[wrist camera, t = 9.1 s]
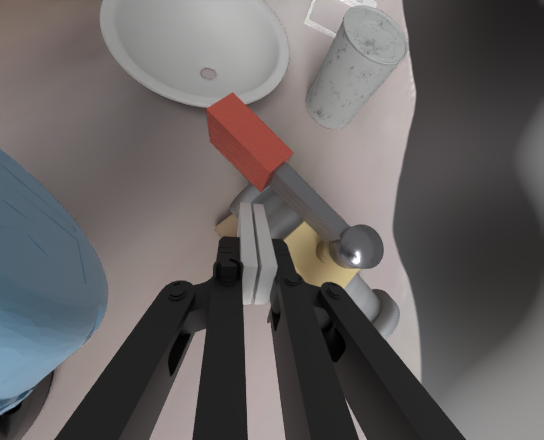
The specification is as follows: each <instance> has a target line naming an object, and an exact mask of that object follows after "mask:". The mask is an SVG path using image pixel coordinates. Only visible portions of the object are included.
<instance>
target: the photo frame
mask: <svg viewBox="0 0 544 440" xmlns="http://www.w3.org/2000/svg"><path fill="white" fill-rule="evenodd" d="M315 1H316V0H312V3H311V5H310V8H309V11H308V14H307V17H306V19H305V22H304V23H306V24H308V25H310V26H311V27H313V28H315V29H317V30H319V31H321V32H323V33H325V34H327V35H329V36H331V37H333V38H335V36H336V33H334V32H332V31H330V30H328V29H326V28H324V27H323V26H321V25H319V24H317V23H315V22H313V21H311V20H309V18H310V15H311V12H312V9H313V6H314V3H315ZM340 1H342V2H344V3H346V4H348V5H350V6H351V7H354V6H359V5H364V6H370V7H373V8H376V4H377V2H376V1H374V0H340Z"/></svg>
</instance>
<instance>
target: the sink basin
mask: <svg viewBox="0 0 544 440" xmlns="http://www.w3.org/2000/svg"><path fill="white" fill-rule="evenodd" d="M100 27H101V32H102V35H103V39H104V41H105V43H106V46H107V48H108V49H109V51H110V53H111V54H112V56H113V57H114V59H115V60H116V61H117V63H118V64H119V65H120V66H121V67H122V68H123V69H124V70H125V71H126V72H127V73H128V74H129V75H130V76H131V77H132V78H134V79H135V80H136V81H137V82H139V83H140V84H141V85H143V86H145V87H146V88H148V89H149V90H151V91H153V92H155V93H157V94H159V95H161V96H163V97H165V98H168V99H170V100H173V101H176V102H179V103H182V104H186V105H190V106H196V107H202V108H208V107H210V106H211V105H213V104H214V103H216V102H218V101H219V100H221V99H222V98H224V97H226V96H227V95H229V94H230V93H232V92H233V93H234V94H235V95H236V96H237V97H238V98H239V99H240V100H241V101H242V102H243V103H244V104H245V105H247V104H250V103H253V102H255V101H257V100H259V99H261V98H263V97H265V96H266V95H268V94H269V93H270V92H272V91H273V90H274V89H275V88H276V87H277V86H278V84H279V83H280V82H281V80H282V79H283V77H284V75H285V73H286V71H287V68H288V64H289V43H288V39H287V35H286V33H285V30H284V28H283V26H282V24H281V22H280V20H279V19H278V17H277V16H276V14H275V13H274V12H273V11H272V9H271V8H270V7H269V6H268V5H267V4H266V3H265V2H264V1H263V0H103V1H102V5H101V8H100ZM206 68H208V69H211V70H213V71H214V72H215V73H216V77H215V78H214V79H211V80H209V79H205V78H203V77H202V76H201V71H202V70H203V69H206Z"/></svg>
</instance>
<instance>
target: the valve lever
mask: <svg viewBox="0 0 544 440" xmlns="http://www.w3.org/2000/svg"><path fill="white" fill-rule="evenodd" d="M206 112H207V120H208V129H209V138H210V142H211V143H212V144H213V145H214V146H215V147H216V148H217V149H218V150H219V151H220V152H221V153H222V154H223V155H224V156H225V157H226V158H227V159H228V160H229V161H230V162H231V163H232V164H233V165H234V166H235V167H236V168H237V169H238V170H239V171H240V172H241V173H242V174H243V175H244V176H245V177H246V178H247V179H248V180H249V181H250V182H251V183H252V184H253V185H254V186H255V187H256V188H257V189H258V190H259V191H260V192H262V191H263V190H264V189H265V188H267V187H268V186H270V187H271V188H272V189H273V190H274V191H275V192H276V193H277V194H278V195H279V196H280V197H281V198H282V199H283V200H284V201H285V202H286V203H287V204H288V205H289V206H290V207H291V208H292V209H293V210H294V211H295V212H296V213H297V214H298V215H299V216H300V217H301V218H302V219H303V220H304V221H305V222H306V223H307V224H308V225H309V226H310V227H311V228H312V229H313V230H314V231H315V232H316V233H317V234H318V235H319V236H320V237H321V238H322V239H323V240H324V241H325V242H326V243H327V244H328V245H329V253H330V256H331V258H332V260H333V261H334V262H335V263H336V264H337V265H338V266H340V267H342V268H346V269H369V268H373V267H375V266H377V265H378V264H379V263H380V261H381V260H382V257H383V252H384V248H383V242H382V240H381V237H380V236H379V234H378V233H377V232H376V231H375V230H374V229H373V228H371V227H370V226H367V225H356V226H353V227H350V226H349V225H348V224H347V223H346V222H345V221H344V220H343V219H342V218H341V217H340V216H339V215H338V214H337V213H336V212H335V211H334V210H333V209H332V208H331V207H330V206H329V205H328V204H327V203H326V202H325V201H324V200H323V199H322V198H321V197H320V196H319V195H318V194H317V193H316V192H315V191H314V190H313V189H312V188H311V187H310V186H309V185H308V184H307V183H306V182H305V181H304V180H303V179H302V178H301V177H300V176H299V175H298V174H297V173H296V172H295V171H294V170H293V169H292V168H291V167H290V166H289V165H288V164H287V163H288V161H289V159H290V157H291V156H292V154H293V152H292V151H291V150H290V149H289V148H288V147H287V146H286V145H285V144H284V143H283V142H282V141H281V140H280V139H279V138H278V137H277V136H276V135H275V134H274V133H273V132H272V131H271V130H270V129H269V128H268V127H267V126H266V125H265V124H264V123H263V122H262V121H261V120H260V119H259V118H258V117H257V116H256V115H255V114H254V113H253V112H252V111H251V110H250V109H249V108H248V107H247V106H246V105H245V104H244V103H243V102H242V101H241V100H240V99H239V98H238V97H237V96H236V95H235V94H234V93H233V92H232V93H230V94H229V95H227V96H226V97H224V98H222V99H221V100H219V101H218V102H216V103H214V104H213V105H211V106H210V107H208V108H206Z"/></svg>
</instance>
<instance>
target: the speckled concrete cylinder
mask: <svg viewBox="0 0 544 440" xmlns="http://www.w3.org/2000/svg"><path fill="white" fill-rule="evenodd" d="M407 52H408V43H407V40H406V37H405V35H404V33H403V31H402V30H401V28H400V27H399V26H398V24H397V23H396V22H395V21H394V20H393V19H392V18H390V17H389V16H388V15H387V14H385V13H383V12H382V11H380V10H378V9H376V8H373V7H370V6H364V5H359V6H354V7H352V8H350V9H349V10H348V11H347V12H346V14H345V16H344V18H343V22H342V24H341V26H340V28H339V30H338V32H337V34H336V36H335V39H334V41H333V43H332V45H331V47H330V49H329V51H328V53H327V55H326V57H325V60H324V62H323V64H322V66H321V68H320V70H319V72H318V74H317V76H316V78H315V80H314V83H313V85H312V87H311V89H310V91H309V92H308V94H307V96H306V107H307V110H308V112H309V114H310V115H311V117H312V118H313V119H314V120H315V121H316V122H317V123H319V124H320V125H322V126H324V127H326V128H329V129H341V128H344V127H345V126H347V125H348V124H349V123H350V121H351V120H352V118H353V117H354V116H355V115H356V114H357V113H358V111H359V110H360V109H361V108H362V107H363V106H364V104H365V103H366V102H367V101H368V100H369V98H370V97H371V96H372V95H373V94H374V93H375V91H376V90H377V89H378V88H379V87H380V86H381V84H382V83H383V82H384V81H385V80H386V78H387V77H388V76H389V75H390V74H391V73H392V71H393V70H394V69H395V68H396V67H397V66H398V64H399V63H400V62H402V61H403V60H404V58H405V57H406V55H407Z"/></svg>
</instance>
